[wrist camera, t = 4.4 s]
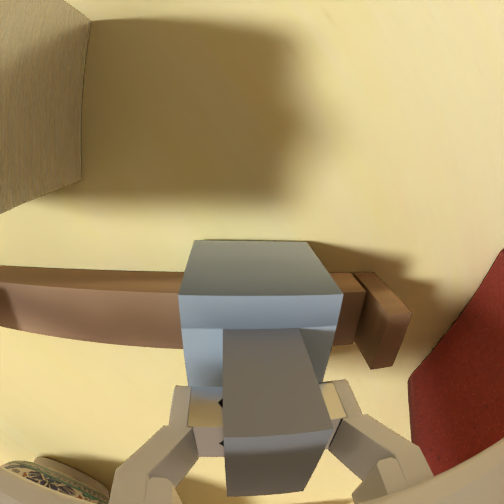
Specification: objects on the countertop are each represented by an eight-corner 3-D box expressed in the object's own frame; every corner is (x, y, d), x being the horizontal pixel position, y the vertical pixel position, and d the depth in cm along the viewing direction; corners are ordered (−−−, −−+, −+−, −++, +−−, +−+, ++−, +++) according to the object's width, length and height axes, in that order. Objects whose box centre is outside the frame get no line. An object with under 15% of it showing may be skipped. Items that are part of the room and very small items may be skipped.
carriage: (194, 240, 13) (151, 400, 5) (306, 242, 13) (402, 385, 5) (200, 352, 15) (190, 505, 7) (291, 351, 16) (331, 495, 7)
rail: (-12, 264, 13) (-50, 294, 9) (373, 272, 15) (412, 312, 11) (0, 306, 14) (-32, 340, 10) (362, 320, 16) (392, 365, 12)
